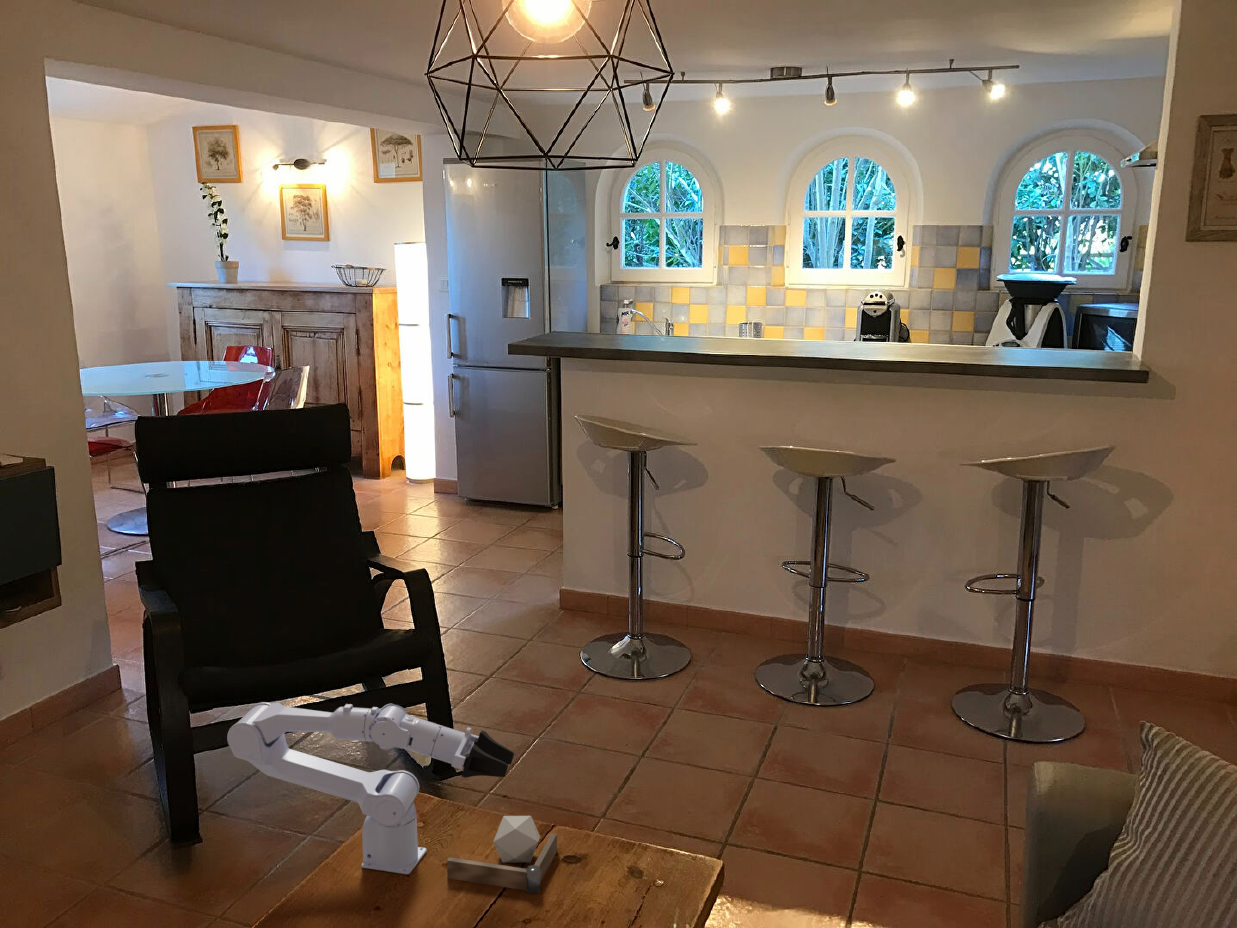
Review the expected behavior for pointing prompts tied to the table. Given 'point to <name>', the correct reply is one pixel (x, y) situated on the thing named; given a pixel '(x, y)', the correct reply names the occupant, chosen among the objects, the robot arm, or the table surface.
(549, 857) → the wooden l-shaped bracket
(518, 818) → the die
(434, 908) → the table surface
